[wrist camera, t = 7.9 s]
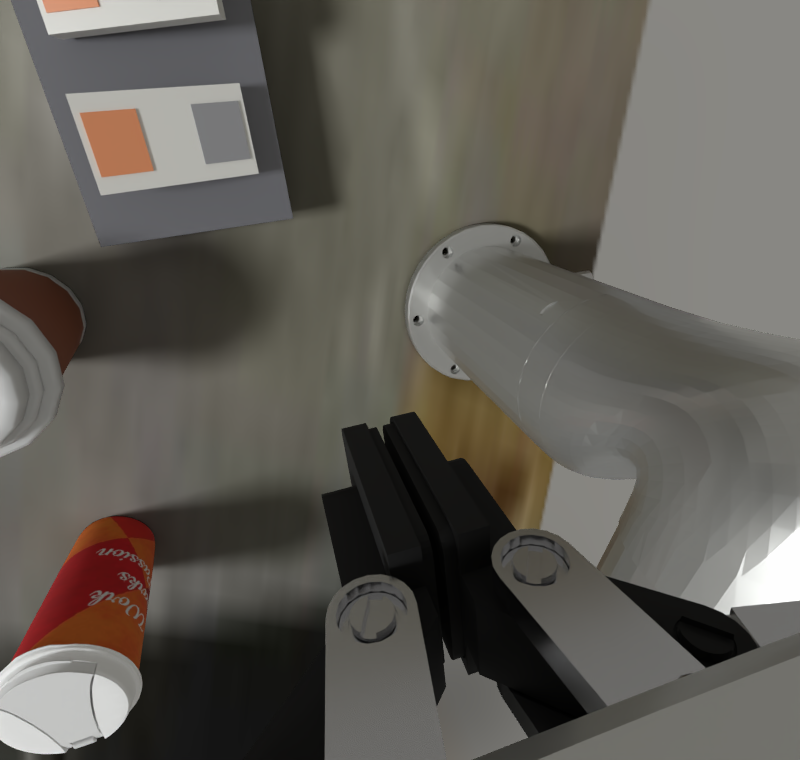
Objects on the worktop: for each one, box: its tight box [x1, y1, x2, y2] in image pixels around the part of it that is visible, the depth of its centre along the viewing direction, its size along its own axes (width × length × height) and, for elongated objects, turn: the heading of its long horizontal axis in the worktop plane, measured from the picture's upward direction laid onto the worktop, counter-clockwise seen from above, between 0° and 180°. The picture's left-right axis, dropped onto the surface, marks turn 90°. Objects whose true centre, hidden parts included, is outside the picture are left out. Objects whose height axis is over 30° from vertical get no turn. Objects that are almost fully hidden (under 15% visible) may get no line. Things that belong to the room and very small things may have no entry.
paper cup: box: [0, 516, 155, 754], centre depth 34 cm, size 8×8×14 cm
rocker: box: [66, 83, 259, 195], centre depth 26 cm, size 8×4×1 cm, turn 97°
